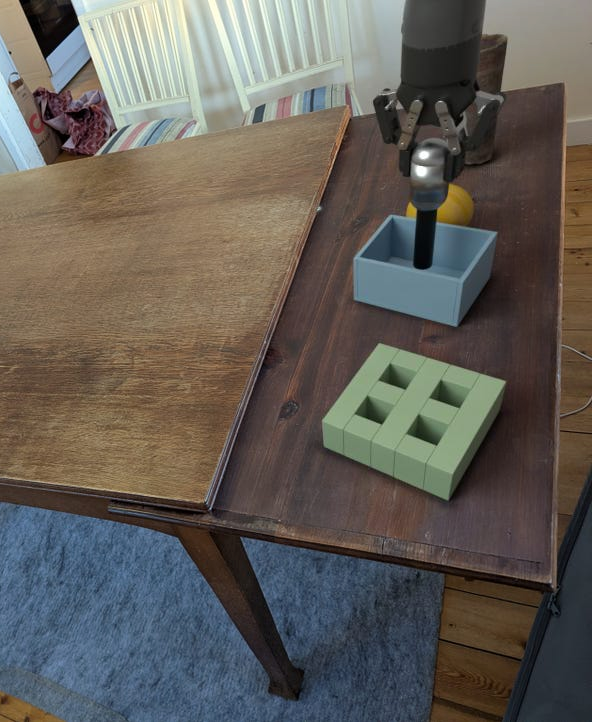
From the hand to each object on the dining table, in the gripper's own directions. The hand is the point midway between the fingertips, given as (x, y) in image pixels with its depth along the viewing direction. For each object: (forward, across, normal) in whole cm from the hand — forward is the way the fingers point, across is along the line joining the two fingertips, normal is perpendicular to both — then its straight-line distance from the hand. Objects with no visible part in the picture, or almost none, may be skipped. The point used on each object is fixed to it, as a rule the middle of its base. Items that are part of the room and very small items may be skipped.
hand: (429, 175), depth 75 cm
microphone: (+14, 0, 0) cm, 14 cm away
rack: (+18, -9, +24) cm, 31 cm away
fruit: (+18, +3, -13) cm, 23 cm away
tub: (+18, 0, 0) cm, 18 cm away
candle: (+18, +7, -35) cm, 40 cm away
